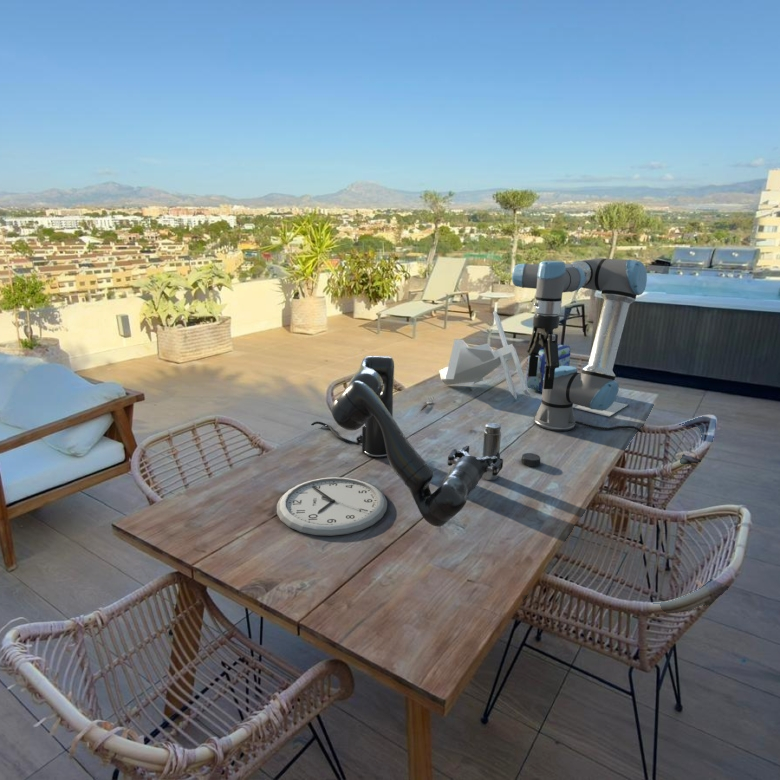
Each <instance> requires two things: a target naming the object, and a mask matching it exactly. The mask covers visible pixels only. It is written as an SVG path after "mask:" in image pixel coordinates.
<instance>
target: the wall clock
mask: <svg viewBox="0 0 780 780" xmlns="http://www.w3.org/2000/svg"><path fill="white" fill-rule="evenodd" d="M387 509H388V500H387V498H386V496H385V494H384V493H383V492H382V491H381V490H380V489H379V488H377V487H376V486H374V485H372V484H371V483H369V482H365V481H362V480H359V479H355V478H349V477H338V476H337V477H335V476H333V477H332V476H331V477H322V478H317V479H312V480H307V481H305V482H302V483H299V484H297V485H295V486H293V487H292V488H290V489H288V490H287V491H286V492H285V493H284V494H283V495H281V496H280V498H279V499H278V502H277V503H276V515H277V517H278V518H279V520H280V521H281V522H282V523H283V524H285V525H286V526H287V527H288V528H290V529H293V530H295V531H297V532H299V533H303V534H308V535H312V536H327V537H328V536H329V537H331V536H332V537H333V536H342V535H350V534H352V533H356V532H361V531H363V530H366V529H368V528H369V527H372V526H373V525H375V524H376V523H378V522H379V521H380V520H381V519H382V518H383V517H384V516H385V514H386V512H387Z"/></svg>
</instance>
